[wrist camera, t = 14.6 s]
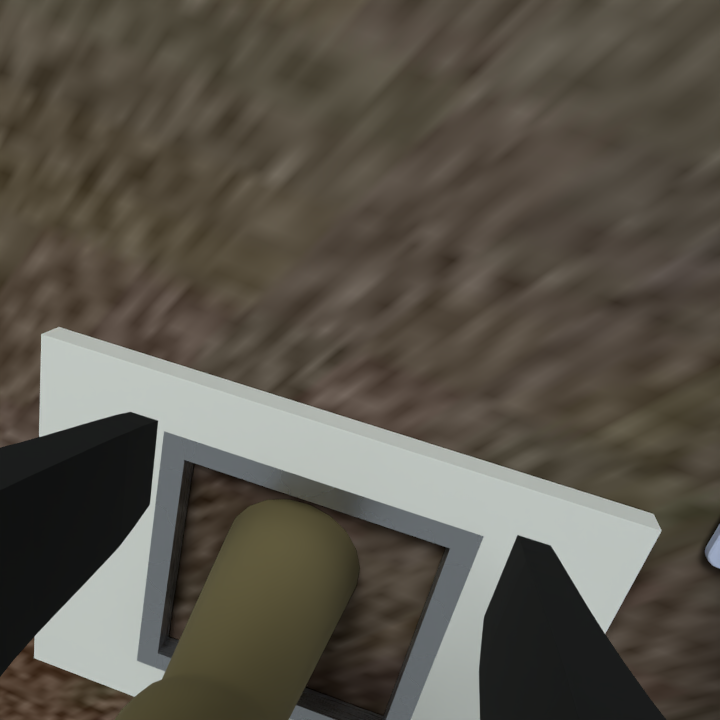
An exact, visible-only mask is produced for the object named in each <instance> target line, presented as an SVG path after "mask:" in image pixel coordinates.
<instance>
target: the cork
mask: <svg viewBox="0 0 720 720" xmlns="http://www.w3.org/2000/svg"><path fill="white" fill-rule="evenodd" d="M359 570H360V567H359V562H358V556H357V551H356V548H355V547H354V545H353V543H352V541H351V540H350V538H349V536H348V534H347V533H346V531H345V530H344V529H343V528H342V527H341V526H340V525H339V524H338V523H337V522H336V521H335V520H334V519H333V518H332V517H330V516H329V515H327V514H326V513H324V512H322V511H320V510H318V509H317V508H315V507H313V506H311V505H309V504H305V503H301V502H297V501H293V500H289V499H278V500H265V501H262V502H260V503H257V504H254V505H251V506H249V507H248V508H246V509H245V510H244V511H243V512H242V513H241V514H239V515H238V516H237V517H236V518H235V520H234V522H233V524H232V526H231V528H230V530H229V532H228V534H227V536H226V538H225V541H224V543H223V545H222V547H221V549H220V552H219V554H218V556H217V558H216V561H215V563H214V565H213V567H212V569H211V572H210V574H209V576H208V578H207V580H206V583H205V585H204V587H203V589H202V592H201V594H200V596H199V598H198V600H197V603H196V605H195V607H194V609H193V611H192V614H191V616H190V618H189V620H188V622H187V625H186V627H185V629H184V631H183V634H182V636H181V638H180V640H179V642H178V645H177V647H176V649H175V651H174V653H173V656H172V658H171V660H170V662H169V665H168V667H167V669H166V671H165V673H164V676H163V678H162V680H159V681H157V682H154V683H152V684H151V685H149V686H148V687H147V688H145V689H144V690H143V691H141V692H140V693H139V694H137V695H136V696H135V697H134V698H133V699H132V700H131V701H130V702H129V703H128V704H127V705H126V706H125V707H124V708H123V709H122V710H121V711H120V713H119V714H118V716H117V717H116V719H115V720H289V718H290V716H291V714H292V712H293V710H294V708H295V706H296V704H297V702H298V700H299V698H300V696H301V694H302V692H303V690H304V688H305V686H306V684H307V682H308V681H309V679H310V677H311V675H312V673H313V671H314V669H315V667H316V665H317V663H318V661H319V659H320V657H321V655H322V653H323V651H324V649H325V647H326V645H327V643H328V641H329V639H330V637H331V635H332V633H333V631H334V629H335V627H336V625H337V623H338V621H339V619H340V617H341V615H342V613H343V611H344V609H345V607H346V605H347V603H348V601H349V599H350V597H351V596H352V594H353V592H354V590H355V588H356V586H357V581H358V575H359Z"/></svg>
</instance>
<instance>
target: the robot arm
mask: <svg viewBox="0 0 720 720" xmlns="http://www.w3.org/2000/svg"><path fill="white" fill-rule="evenodd" d="M157 429H158V420H155V419H152V418H148V417H145V416H142V415H139V414H136V413H133V412H127V413H122V414H118V415H114V416H110V417H106V418H103V419H99V420H96V421H92V422H89V423H86V424H82V425H79V426H75V427H72V428H69V429H65V430H62V431H58V432H55V433H52V434H48V435H45V436H41V437H38V438H35V439H31V440H28V441H24V442H21V443H17V444H13V445H9V446H5V447H1V448H0V676H1V675H2V674H3V672H4V671H5V670H6V669H7V667H8V666H9V665H10V664H11V662H12V661H13V660H14V659H15V658H16V656H17V655H18V654H19V653H20V652H21V651H22V650H23V649H24V647H25V646H26V645H27V644H28V643H29V642H30V641H31V640H32V638H33V637H34V636H35V635H36V634H37V633H38V632H39V631H40V630H41V629H42V628H43V627H44V626H45V625H46V624H47V623H48V622H49V621H50V619H51V618H52V617H53V616H54V615H55V614H56V613H57V612H58V611H59V610H60V609H61V608H62V607H63V606H64V605H65V604H66V603H67V602H68V601H69V600H70V599H71V597H72V596H73V595H74V594H75V593H76V592H77V591H78V590H79V589H80V588H81V587H82V586H83V585H84V584H85V583H86V582H87V581H88V580H89V579H90V578H91V577H92V575H93V574H94V573H95V572H96V571H97V570H98V569H99V568H100V567H101V566H102V565H103V564H104V563H105V562H106V561H107V559H108V558H109V557H110V556H111V555H112V554H113V553H114V552H115V551H116V550H117V549H118V548H119V546H120V545H121V544H122V543H123V541H124V540H125V539H126V537H127V536H128V535H129V533H130V532H131V531H132V529H133V528H134V527H135V525H136V524H137V522H138V521H139V519H140V518H141V517H142V515H143V514H144V512H145V511H146V509H147V508H148V507H149V505H150V498H151V488H152V479H153V469H154V459H155V449H156V439H157ZM705 556H706V558H707V559H708V561H709V562H710V564H711V565H712V566H714V567H716V568H719V569H720V524H719V526H718V527H717V529H716V531H715V532H714V534H713V536H712V537H711V539H710V541H709V543H708V544H707V546H706V548H705ZM479 699H480V720H666V719H665V718H664V716H663V715H662V714H661V712H660V711H659V710H658V709H657V707H656V706H655V705H654V703H653V702H652V701H651V699H650V698H649V697H648V695H647V694H646V692H645V691H644V690H643V688H642V687H641V685H640V684H639V683H638V681H637V680H636V678H635V677H634V676H633V674H632V673H631V671H630V670H629V669H628V667H627V666H626V664H625V663H624V662H623V660H622V659H621V657H620V656H619V654H618V653H617V651H616V650H615V648H614V647H613V645H612V644H611V642H610V641H609V639H608V638H607V636H606V635H605V633H604V632H603V630H602V628H601V627H600V625H599V624H598V622H597V621H596V619H595V617H594V616H593V614H592V613H591V611H590V609H589V608H588V606H587V605H586V603H585V601H584V600H583V598H582V596H581V595H580V593H579V591H578V590H577V588H576V586H575V585H574V583H573V581H572V580H571V578H570V576H569V575H568V573H567V571H566V570H565V568H564V566H563V565H562V563H561V561H560V560H559V558H558V556H557V555H556V553H555V551H554V550H553V548H552V547H551V545H548V544H544V543H541V542H538V541H535V540H532V539H529V538H526V537H522V536H519V535H517V537H516V540H515V542H514V545H513V547H512V550H511V552H510V555H509V557H508V559H507V562H506V564H505V567H504V569H503V572H502V574H501V576H500V579H499V581H498V584H497V586H496V589H495V591H494V594H493V596H492V598H491V601H490V603H489V606H488V608H487V611H486V613H485V616H484V620H483V630H482V640H481V651H480V663H479Z"/></svg>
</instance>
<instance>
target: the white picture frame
mask: <svg viewBox="0 0 720 720" xmlns="http://www.w3.org/2000/svg"><path fill="white" fill-rule="evenodd" d="M127 412H133V413H136V414H139V415H142V416H145V417H148V418H152V419H155V420H158V429H157V439H156V449H155V459H154V469H153V479H152V488H151V498H150V505H149V507H148V508H147V509H146V511H145V512H144V514H143V515H142V517H141V518H140V519H139V521H138V522H137V524H136V525H135V527H134V528H133V529H132V531H131V532H130V533H129V535H128V536H127V537H126V539H125V540H124V541H123V543H122V544H121V545H120V546H119V548H118V549H117V550H116V551H115V552H114V553H113V554H112V555H111V556H110V557H109V558H108V559H107V561H106V562H105V563H104V564H103V565H102V566H101V567H100V568H99V569H98V570H97V571H96V572H95V573H94V574H93V575H92V577H91V578H90V579H89V580H88V581H87V582H86V583H85V584H84V585H83V586H82V587H81V588H80V589H79V590H78V591H77V592H76V593H75V594H74V595H73V596H72V597H71V599H70V600H69V601H68V602H67V603H66V604H65V605H64V606H63V607H62V608H61V609H60V610H59V611H58V612H57V613H56V614H55V615H54V616H53V617H52V618H51V619H50V621H49V622H48V623H47V624H46V625H45V626H44V627H43V628H42V629H41V630H40V631H39V632H38V633H37V634H36V635H35V644H34V658H35V659H38V660H41V661H43V662H46V663H48V664H51V665H54V666H56V667H59V668H61V669H64V670H67V671H69V672H72V673H74V674H77V675H80V676H82V677H85V678H87V679H90V680H93V681H95V682H98V683H100V684H103V685H106V686H108V687H111V688H113V689H116V690H119V691H121V692H124V693H126V694H129V695H132V696H134V697H135V696H136V695H137V694H139V693H140V692H141V691H143V690H144V689H145V688H147V687H148V686H149V685H151V684H152V683H154V682H157V681H159V680H162V678H163V676H164V673H165V671H166V669H167V667H168V665H169V662H170V660H171V658H172V656H173V653H174V651H175V649H176V647H177V645H178V642H179V640H176V639H173V638H171V637H169V630H170V623H171V617H172V610H173V603H174V596H175V589H176V582H177V575H178V569H179V562H180V555H181V548H182V541H183V534H184V527H185V521H186V514H187V507H188V500H189V493H190V486H191V479H192V472H193V466H194V463H195V464H198V465H201V466H204V467H207V468H210V469H213V470H216V471H219V472H222V473H225V474H228V475H231V476H234V477H237V478H240V479H243V480H246V481H249V482H252V483H255V484H258V485H261V486H264V487H267V488H270V489H273V490H276V491H279V492H282V493H285V494H288V495H291V496H294V497H297V498H300V499H303V500H306V501H309V502H312V503H315V504H318V505H321V506H324V507H327V508H330V509H333V510H336V511H339V512H342V513H345V514H348V515H351V516H354V517H357V518H360V519H363V520H366V521H369V522H372V523H375V524H378V525H381V526H384V527H387V528H390V529H393V530H396V531H399V532H402V533H405V534H408V535H411V536H414V537H417V538H420V539H423V540H426V541H429V542H432V543H435V544H438V545H441V546H444V547H446V548H445V551H444V554H443V557H442V559H441V562H440V565H439V567H438V570H437V573H436V575H435V578H434V581H433V584H432V586H431V589H430V592H429V594H428V597H427V600H426V602H425V605H424V608H423V610H422V613H421V616H420V619H419V621H418V624H417V627H416V629H415V632H414V635H413V637H412V640H411V643H410V646H409V648H408V651H407V654H406V656H405V659H404V662H403V664H402V667H401V670H400V673H399V675H398V678H397V681H396V683H395V686H394V689H393V691H392V694H391V697H390V700H389V702H388V705H387V708H386V710H385V713H384V716H381V715H379V714H376V713H373V712H371V711H368V710H365V709H362V708H360V707H357V706H354V705H352V704H349V703H346V702H343V701H341V700H338V699H335V698H333V697H330V696H327V695H325V694H322V693H319V692H316V691H314V690H311V689H308V688H306V687H305V688H304V690H303V692H302V694H301V696H300V698H299V700H298V702H297V704H296V706H295V708H294V710H293V712H292V714H291V716H290V718H289V720H480V699H479V663H480V651H481V640H482V630H483V620H484V616H485V613H486V611H487V608H488V606H489V603H490V601H491V598H492V596H493V594H494V591H495V589H496V586H497V584H498V581H499V579H500V576H501V574H502V572H503V569H504V567H505V564H506V562H507V559H508V557H509V555H510V552H511V550H512V547H513V545H514V542H515V540H516V537H517V535H519V536H522V537H526V538H529V539H532V540H535V541H538V542H541V543H544V544H548V545H551V547H552V548H553V550H554V551H555V553H556V555H557V556H558V558H559V560H560V561H561V563H562V565H563V566H564V568H565V570H566V571H567V573H568V575H569V576H570V578H571V580H572V581H573V583H574V585H575V586H576V588H577V590H578V591H579V593H580V595H581V596H582V598H583V600H584V601H585V603H586V605H587V606H588V608H589V609H590V611H591V613H592V614H593V616H594V617H595V619H596V621H597V622H598V624H599V625H600V627H601V628H602V630H603V632H604V633H606V632H607V630H608V628H609V626H610V624H611V622H612V621H613V619H614V617H615V615H616V613H617V611H618V610H619V608H620V606H621V604H622V602H623V600H624V599H625V597H626V595H627V593H628V591H629V589H630V588H631V586H632V584H633V582H634V580H635V578H636V577H637V575H638V573H639V571H640V569H641V568H642V566H643V564H644V562H645V560H646V558H647V557H648V555H649V553H650V551H651V549H652V547H653V546H654V544H655V542H656V540H657V538H658V536H659V535H660V533H661V529H660V526H659V524H658V522H657V520H656V518H655V516H654V514H652V513H649V512H646V511H643V510H639V509H636V508H633V507H630V506H627V505H624V504H620V503H617V502H614V501H611V500H608V499H604V498H601V497H598V496H595V495H592V494H589V493H585V492H582V491H579V490H576V489H573V488H569V487H566V486H563V485H560V484H557V483H554V482H550V481H547V480H544V479H541V478H538V477H534V476H531V475H528V474H525V473H522V472H519V471H515V470H512V469H509V468H506V467H503V466H500V465H496V464H493V463H490V462H487V461H484V460H480V459H477V458H474V457H471V456H468V455H465V454H461V453H458V452H455V451H452V450H449V449H445V448H442V447H439V446H436V445H433V444H430V443H426V442H423V441H420V440H417V439H414V438H410V437H407V436H404V435H401V434H398V433H395V432H391V431H388V430H385V429H382V428H379V427H376V426H372V425H369V424H366V423H363V422H360V421H356V420H353V419H350V418H347V417H344V416H341V415H337V414H334V413H331V412H328V411H325V410H321V409H318V408H315V407H312V406H309V405H306V404H302V403H299V402H296V401H293V400H290V399H286V398H283V397H280V396H277V395H274V394H271V393H267V392H264V391H261V390H258V389H255V388H252V387H248V386H245V385H242V384H239V383H236V382H232V381H229V380H226V379H223V378H220V377H217V376H213V375H210V374H207V373H204V372H201V371H197V370H194V369H191V368H188V367H185V366H182V365H178V364H175V363H172V362H169V361H166V360H162V359H159V358H156V357H153V356H150V355H147V354H143V353H140V352H137V351H134V350H131V349H128V348H124V347H121V346H118V345H115V344H112V343H108V342H105V341H102V340H99V339H96V338H93V337H89V336H86V335H83V334H80V333H77V332H73V331H70V330H67V329H64V328H61V327H58V328H55V329H53V330H50V331H48V332H45V333H43V334H41V375H40V420H39V437H41V436H45V435H48V434H52V433H55V432H58V431H62V430H65V429H69V428H72V427H75V426H79V425H82V424H86V423H89V422H92V421H96V420H99V419H103V418H106V417H110V416H114V415H118V414H122V413H127Z"/></svg>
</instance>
